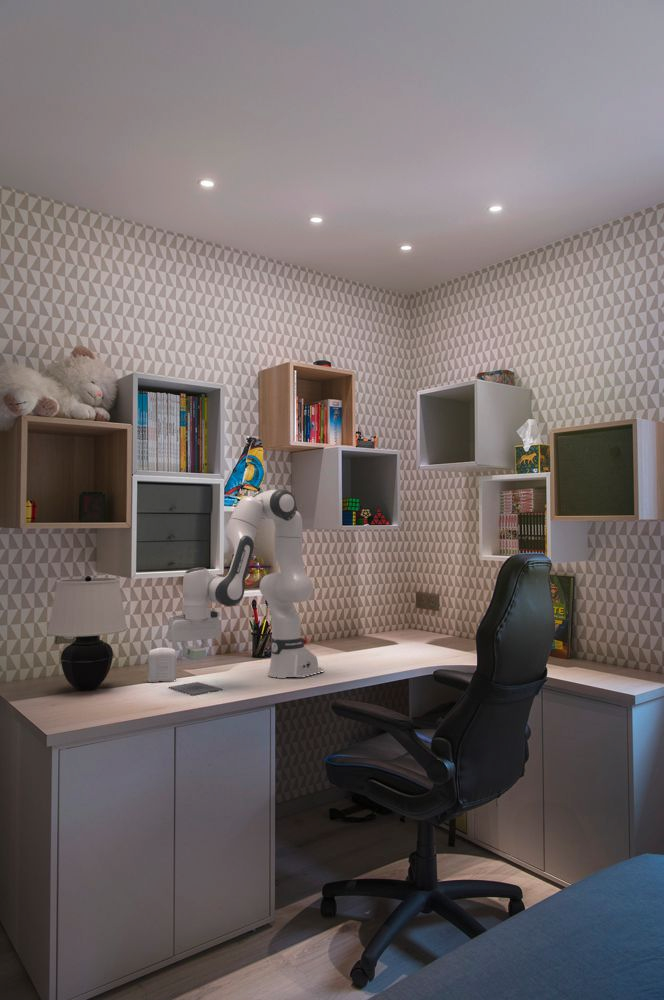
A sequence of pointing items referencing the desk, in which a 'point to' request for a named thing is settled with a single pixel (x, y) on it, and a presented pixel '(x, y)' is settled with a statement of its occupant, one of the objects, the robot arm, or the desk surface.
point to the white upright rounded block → (161, 665)
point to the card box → (195, 653)
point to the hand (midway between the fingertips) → (194, 653)
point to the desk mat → (195, 688)
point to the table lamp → (87, 627)
